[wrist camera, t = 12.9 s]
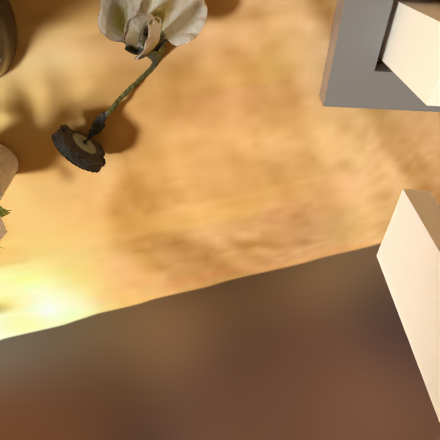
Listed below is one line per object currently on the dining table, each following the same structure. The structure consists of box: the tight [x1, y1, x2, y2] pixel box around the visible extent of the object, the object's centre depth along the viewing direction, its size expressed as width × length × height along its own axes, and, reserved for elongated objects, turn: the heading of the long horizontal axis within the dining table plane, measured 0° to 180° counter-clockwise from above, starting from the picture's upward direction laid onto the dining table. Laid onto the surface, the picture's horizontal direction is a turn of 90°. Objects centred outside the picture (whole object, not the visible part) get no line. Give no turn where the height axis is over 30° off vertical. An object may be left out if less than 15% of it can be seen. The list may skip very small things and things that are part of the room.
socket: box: [319, 0, 440, 112], centre depth 35 cm, size 14×14×3 cm
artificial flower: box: [52, 0, 208, 173], centre depth 38 cm, size 9×22×10 cm, turn 137°
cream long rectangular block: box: [378, 0, 440, 106], centre depth 30 cm, size 4×5×16 cm
